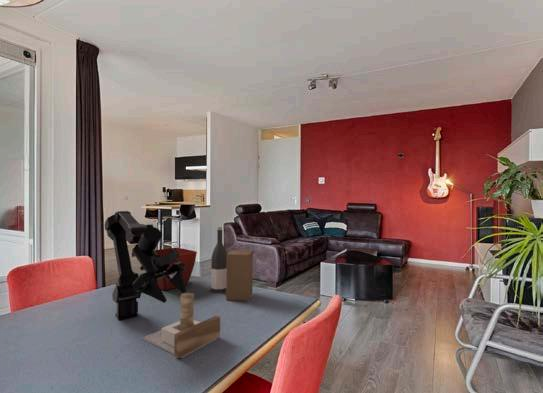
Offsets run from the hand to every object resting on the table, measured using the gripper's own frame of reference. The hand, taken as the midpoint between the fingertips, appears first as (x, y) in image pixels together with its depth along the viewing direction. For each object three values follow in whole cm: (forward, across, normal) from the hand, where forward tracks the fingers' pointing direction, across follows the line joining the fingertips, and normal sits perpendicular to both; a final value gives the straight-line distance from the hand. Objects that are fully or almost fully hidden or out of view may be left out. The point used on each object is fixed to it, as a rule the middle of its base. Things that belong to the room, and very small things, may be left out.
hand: (175, 296), depth 95 cm
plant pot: (-18, +44, +37) cm, 60 cm away
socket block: (+12, 0, +7) cm, 14 cm away
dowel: (+11, 0, +5) cm, 13 cm away
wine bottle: (0, +47, +19) cm, 51 cm away
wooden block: (+10, +42, +9) cm, 45 cm away
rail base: (+10, +1, +8) cm, 13 cm away
